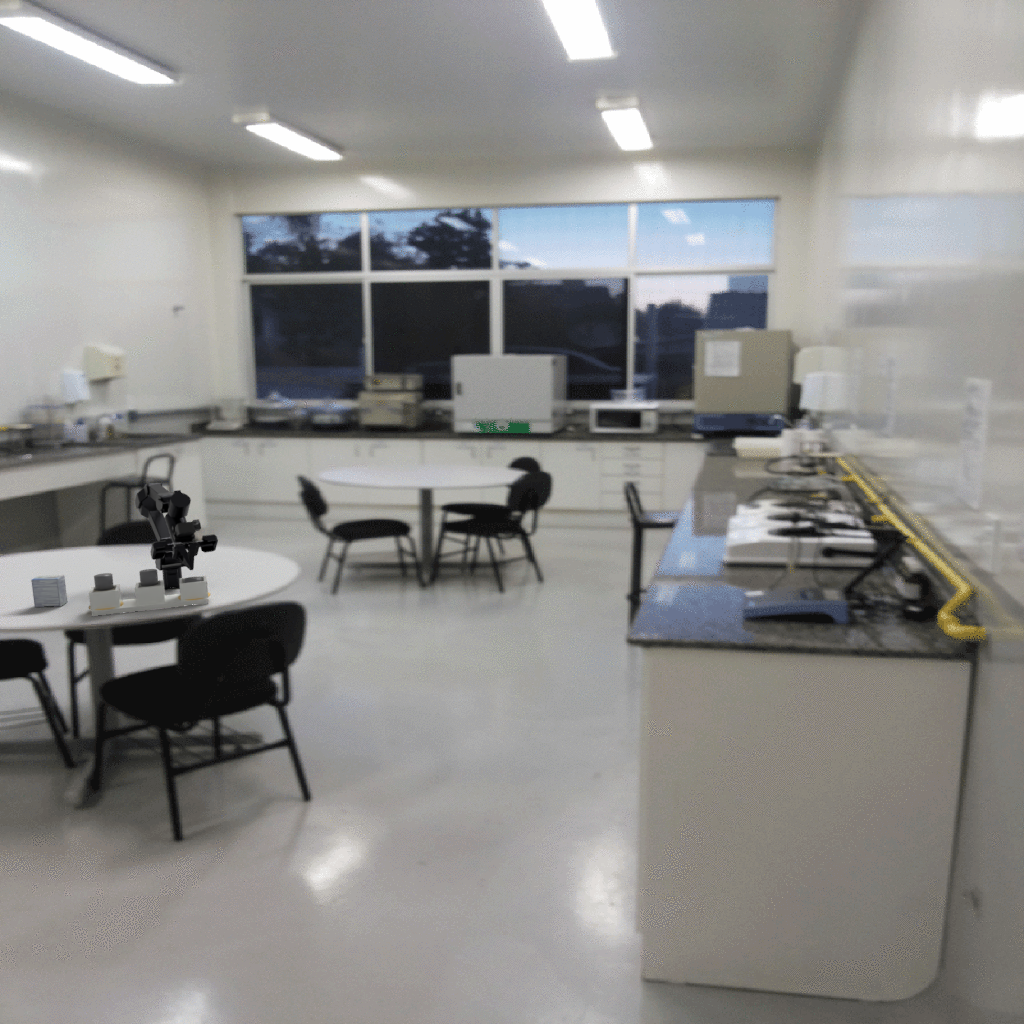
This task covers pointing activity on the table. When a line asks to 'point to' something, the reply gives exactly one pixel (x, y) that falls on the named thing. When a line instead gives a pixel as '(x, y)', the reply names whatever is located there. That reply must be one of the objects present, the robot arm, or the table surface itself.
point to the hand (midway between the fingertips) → (192, 569)
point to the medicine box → (49, 590)
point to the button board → (148, 597)
